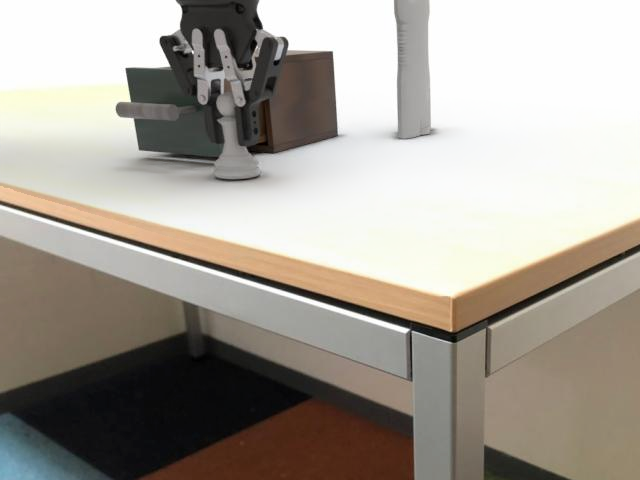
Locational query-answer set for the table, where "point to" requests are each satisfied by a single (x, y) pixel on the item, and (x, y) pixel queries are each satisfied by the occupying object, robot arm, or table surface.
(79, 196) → the table surface
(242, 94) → the robot arm
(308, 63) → the cabinet
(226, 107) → the chess piece
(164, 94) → the drawer
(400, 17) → the tall pale column
